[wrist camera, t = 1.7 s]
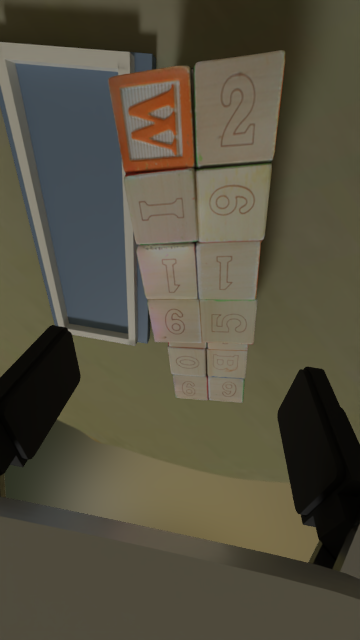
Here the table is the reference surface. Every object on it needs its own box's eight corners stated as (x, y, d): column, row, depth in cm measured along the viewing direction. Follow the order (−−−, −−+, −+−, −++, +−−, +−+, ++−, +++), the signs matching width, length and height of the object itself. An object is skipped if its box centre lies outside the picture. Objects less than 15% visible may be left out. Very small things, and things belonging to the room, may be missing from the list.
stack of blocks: (239, 339, 30) (244, 437, 20) (187, 336, 31) (166, 428, 21) (256, 101, 18) (291, 41, 8) (170, 112, 19) (102, 71, 9)
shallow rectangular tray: (155, 58, 17) (148, 48, 16) (149, 338, 32) (145, 348, 30) (-5, 45, 18) (-28, 35, 17) (59, 322, 33) (50, 331, 31)
